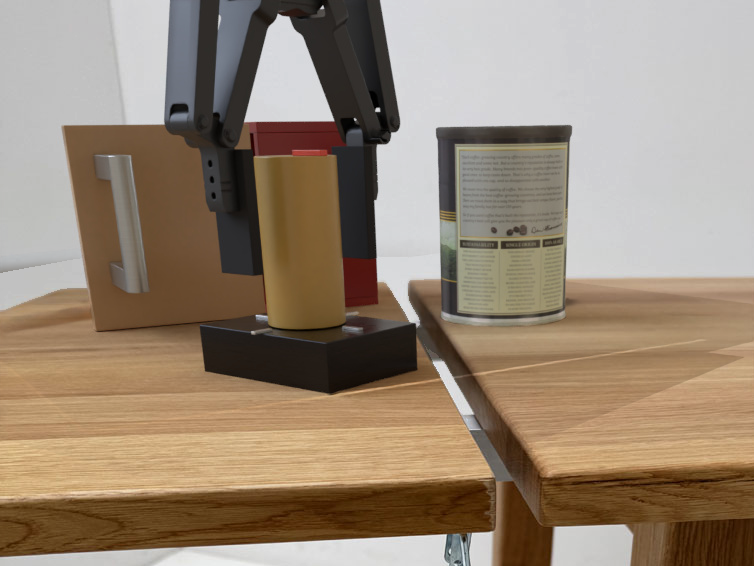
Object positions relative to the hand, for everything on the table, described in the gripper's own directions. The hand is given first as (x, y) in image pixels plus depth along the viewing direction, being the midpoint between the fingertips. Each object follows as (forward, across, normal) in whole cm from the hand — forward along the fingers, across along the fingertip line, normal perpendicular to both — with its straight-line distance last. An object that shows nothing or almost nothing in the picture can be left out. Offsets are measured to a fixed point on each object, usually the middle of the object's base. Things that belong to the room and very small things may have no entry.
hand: (303, 265), depth 62 cm
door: (+6, -6, -19) cm, 20 cm away
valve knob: (+3, 0, 0) cm, 3 cm away
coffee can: (+7, -24, -2) cm, 25 cm away
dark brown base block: (+6, 0, 0) cm, 6 cm away
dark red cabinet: (+6, -21, -23) cm, 32 cm away
